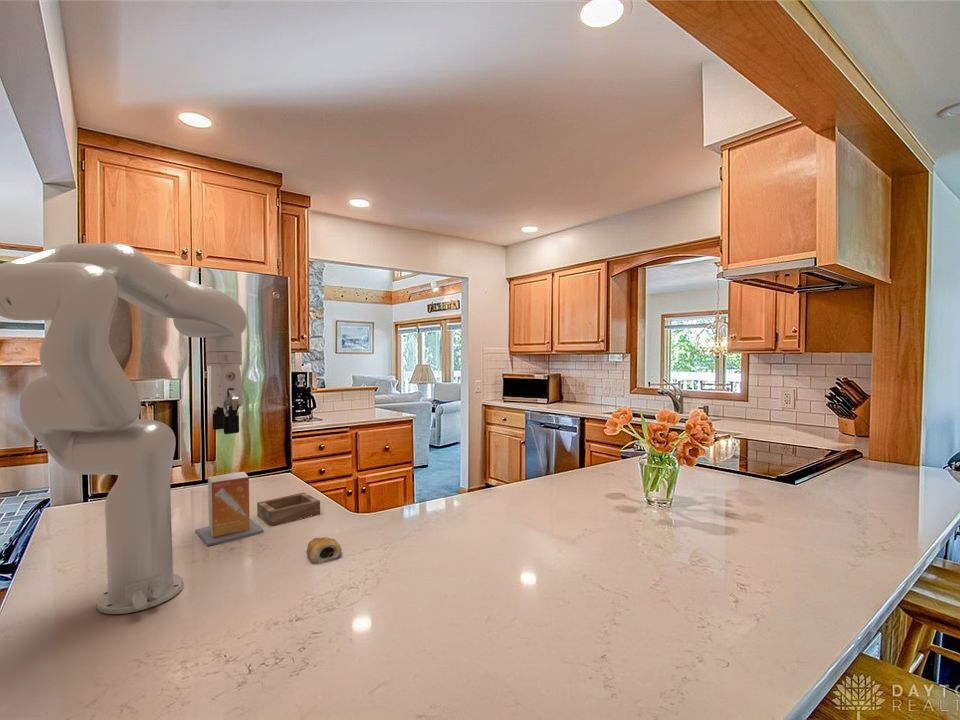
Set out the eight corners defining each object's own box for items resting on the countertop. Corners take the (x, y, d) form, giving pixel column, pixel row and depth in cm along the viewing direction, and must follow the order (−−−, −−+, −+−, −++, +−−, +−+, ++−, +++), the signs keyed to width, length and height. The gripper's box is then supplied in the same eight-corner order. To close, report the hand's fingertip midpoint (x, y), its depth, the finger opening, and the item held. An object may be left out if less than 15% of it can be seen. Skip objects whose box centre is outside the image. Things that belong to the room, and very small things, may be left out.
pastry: (301, 550, 105) (301, 533, 105) (332, 543, 108) (332, 527, 108) (311, 566, 97) (311, 548, 97) (344, 558, 100) (344, 540, 100)
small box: (212, 538, 110) (210, 482, 110) (208, 530, 115) (207, 476, 115) (250, 530, 115) (249, 476, 115) (245, 522, 120) (244, 470, 120)
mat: (263, 532, 115) (263, 529, 115) (207, 546, 107) (207, 544, 107) (248, 519, 124) (248, 517, 124) (195, 532, 116) (195, 529, 116)
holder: (320, 514, 127) (320, 500, 127) (271, 526, 119) (271, 512, 119) (304, 504, 135) (304, 492, 135) (257, 515, 127) (257, 502, 127)
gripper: (252, 359, 110) (253, 433, 110) (231, 359, 123) (232, 426, 123) (216, 359, 105) (217, 437, 105) (198, 360, 118) (199, 429, 118)
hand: (225, 431), depth 114 cm, fingers open, 9 cm apart
